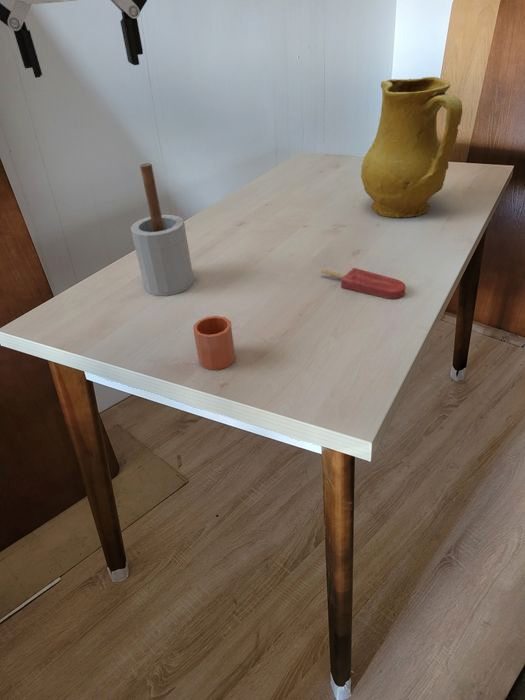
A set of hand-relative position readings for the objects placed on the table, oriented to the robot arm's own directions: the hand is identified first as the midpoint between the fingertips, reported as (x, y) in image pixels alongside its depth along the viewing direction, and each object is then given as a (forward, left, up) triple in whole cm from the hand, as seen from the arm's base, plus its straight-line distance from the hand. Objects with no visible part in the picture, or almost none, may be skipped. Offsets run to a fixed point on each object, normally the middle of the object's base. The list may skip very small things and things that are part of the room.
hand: (87, 69), depth 53 cm
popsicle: (+22, +28, -36) cm, 51 cm away
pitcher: (+21, +63, -36) cm, 76 cm away
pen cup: (+9, +2, -36) cm, 37 cm away
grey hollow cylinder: (-10, +19, -36) cm, 42 cm away
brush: (-10, +19, -36) cm, 42 cm away
